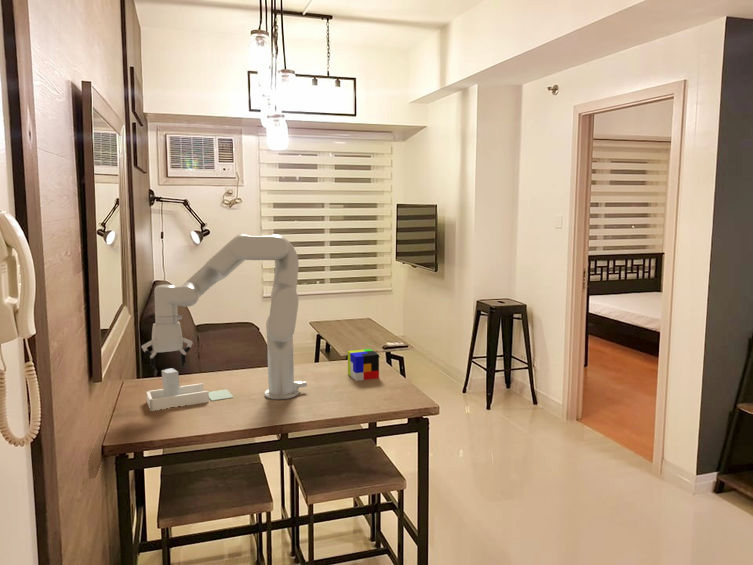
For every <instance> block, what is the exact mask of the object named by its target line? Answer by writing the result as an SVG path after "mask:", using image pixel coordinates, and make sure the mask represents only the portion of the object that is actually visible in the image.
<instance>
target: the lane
mask: <svg viewBox="0 0 753 565" xmlns="http://www.w3.org/2000/svg"><path fill="white" fill-rule="evenodd" d="M179 386H180V385H179ZM145 392H146V403H147V406H148V409H149V408H150V409H149V411H150V412H156V411H161V410H160V409H162V410H167V409H166V408H168V409H171V408H170V407H175V408H179V407H178V406H181V407H185V405H187V406H193V405H198V404H205V403H209V402H210V398H209V392H210V391H209V390H204V382H201V383H194V384H188V385H187V384H186V385H181V386H180V395H176V396H169V397H164V392H163V388H159V389H154V390H146V391H145ZM155 410H156V411H155Z"/></svg>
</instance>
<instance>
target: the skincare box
mask: <svg viewBox="0 0 753 565" xmlns="http://www.w3.org/2000/svg"><path fill="white" fill-rule="evenodd" d="M179 377H180V376H179V371H178V370H176V369H175V368H172V367H171V368H165V369H162V370H161V381H162V389H163V392H164V397H169V396H176V395H180V378H179Z"/></svg>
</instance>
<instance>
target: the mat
mask: <svg viewBox="0 0 753 565" xmlns="http://www.w3.org/2000/svg"><path fill="white" fill-rule="evenodd" d="M208 392H209V401H211V402H214V401H221V400H226V399H227V400H228V399H233V398H234V396H233V394H232V393H231V392H230V391H229V390H228V389H227V388H226V389H220V390H219V389H218V390H213V391H208Z"/></svg>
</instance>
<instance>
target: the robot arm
mask: <svg viewBox="0 0 753 565" xmlns="http://www.w3.org/2000/svg"><path fill="white" fill-rule="evenodd" d="M298 257H299V256H298V253H297V251H296V249H295V247H294V246H293V244H292V243H291V242H290V241H289V240H288V239H286V238H285V237H284V236H282V235H281V234H278V233H276V234H275V233H273V234H270V235H260V236H259V235H248V234H245V233H240V234H237V235H235V236H234V237H233V238H232V239H231V240H230V241H228V242H227V244H225V245H224V246H223V247H222V248H221V249H219V251H217V252H216V253H215V254H214V255H213V256H212V257H210V258H209V259H208V260H207V261H206V262H205V264H204V265H202V267H201V268H200V269H198V270H197V271H196V272H195V273H194V274H193V275H192V276H191V277H189V279H187V280H186V281H185V282H184V283H183V284H182V285H181V286H176V285H174V284H159V285H157V286H155V288H154V292H153V293H154V314H155V315H154V317H155V318H154V319H155V320H154V322H155V323H153V324H152V330H151V340H149V341H147V342H145V343H144V344H142V345H141V349H142V351H143V352H144V353H145V354H146V356H148V357H149V360H150V361H149V362H150V367H151V368H152V369H153V370H155V369H156V366H157V365H156V357H155V356H156V355H157V353H166V352H168V353H169V352H175V351H176V352H178V351H179V352H180V354H179V357H180V358H179V359H180V365H181V366H182V367H183V366H185V363H186V355H187V354H188V352H190V350H191V348H192V345H193V343H194V342H193V341H192V340H190V339H187V338H185V337H183V332H182V331H183V330H182V326H181V323H180V321H179V320H183V315H182V314H181V315H179V314H178V311H179V310H178V309H179V308H178V307H187V308H188V307H193V306H195V305H196V304H197V303H198V301H199V299H200V298H201V297H202V296H203V294H205V293H206V292H207V291H208V290H209V289H210V288H211V287H213V286H214V285H216V283H218V282H220V281H222V280H224V279H225V278H227V277H229V275H230V274H232V272H234V270H235V269H237V268H238V267H240V265H242V264H243V263H244V262H245V261H274V276H273V284H272V290H271V294H270V309H269V316H268V317H267V319H266V322H265V323H266V324H265V327H266V328H265V329H266V344H267V378H268V389H266V390H265V391H264V396H265V397H266V398H267V399H270V398H271V400H288V399H291V398H294V397H296V396H298V395H299V394H300V393H299V389H300V388H305V387H307V386H308V385H307V381H301V380H299V381H298V380H297V381H295V366H294V363H295V362H294V334H295V329H296V324H297V323H296V322H297V317H298V316H297V315H298V309H299V295H298V292H297V286H298V285H297V284H298V278H299V277H298V275H299V258H298ZM184 344H187V346H185V347H184ZM148 347H151V348H152V350H151V351H150V350H148ZM183 347H184V348H183Z"/></svg>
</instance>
